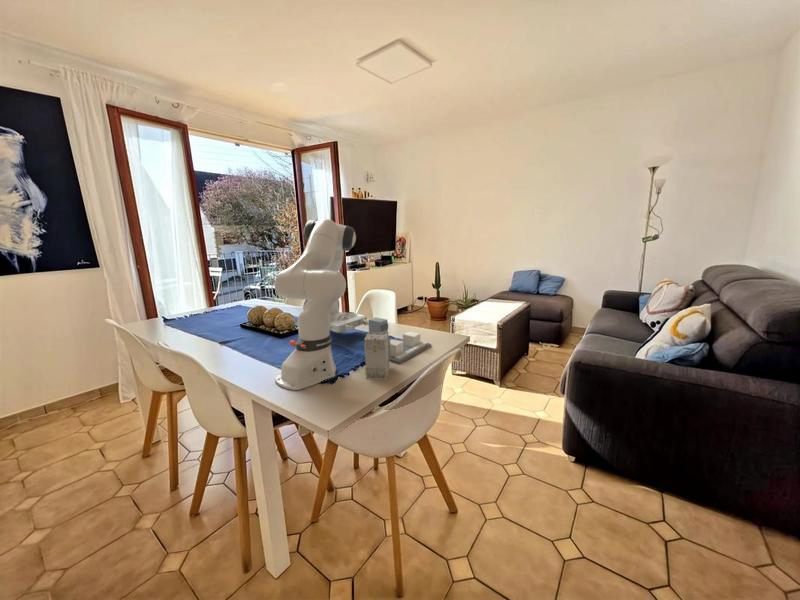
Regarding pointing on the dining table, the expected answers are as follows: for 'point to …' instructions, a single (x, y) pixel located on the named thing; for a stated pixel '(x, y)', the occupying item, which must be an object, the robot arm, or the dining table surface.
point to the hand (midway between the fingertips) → (360, 326)
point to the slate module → (378, 325)
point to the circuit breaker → (377, 355)
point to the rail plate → (406, 347)
